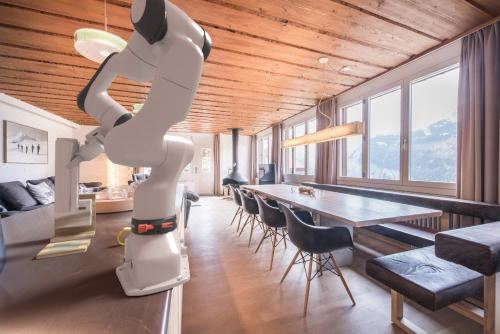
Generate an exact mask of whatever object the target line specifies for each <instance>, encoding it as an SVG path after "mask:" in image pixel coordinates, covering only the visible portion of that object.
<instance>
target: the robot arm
mask: <svg viewBox="0 0 500 334" xmlns="http://www.w3.org/2000/svg"><path fill="white" fill-rule="evenodd" d="M130 21H131V24H132V26H133V29H134V30H133V32H132V33H131V35H130V38H129V39H128V41H127V44H126V46H125V47H124V49H122V50H121V51H119V52H118V51H113V52H111V53H110V54H108V55H107V57H106V58H105V59H104V60H103V61H102V63H100V66H98V68H97V70H96V71H95V72H94V74H93V75H92V77H91V78H90V80H89V81H88V83H87V84H86V85H85V86H84V87H83V88H82V89H81V90H79V92H78V93H77V95H76V105H77V108H78V110H80V111H81V112H83V113H84V114H86V115H88V116H90V117H91V118H92V119H94V120H95V121H96V122H98V123H99V124H100V125H99V126H97V127H95V128H94V129H92V130H91V131H89V132H88V133H87V134H85V136H84V137H85V140H84V144H81V145H80V150H79V151H78V152H77V153H76V156H77V157H75V158H74V159H73V160H72V161H71V162H69V163H68V164H67V165H66V167H67V168H68V169H72V168H73V167H74V166H76V165H78V164H79V163H80V164H81V163H82V162H83V163H84V162H90V161H93V160H94V159H96V158H98V157H99V156H101V155H102V154H105V155H106V157H107V159H108V160H109V161H110V162H111V163H113V164H115V165H119V166H124V167H128V168H151V169H150V171H149V172H150V173H149V175H148V176H147V178H146V179H145V180H144V181H142V182H141V183H139V184H137V185H136V186H135V188H134V190H133V193H132V194H133V195H132V199H133V200H132V217H131V218H130V219H131V220H130V227H131V230H130V231H131V233H130V234H129V235H128V236H127V237H126V238H125V240H124V243H125V245H124V257H123V264H122V265H119V266H117V267H116V268H115V275H116V276H117V279H118V280H119V282H120V284H121V287H122V289H123V291H124V294H125V295H126V296H128V297H129V296H130V297H131V296H132V297H133V296H135V297H136V296H145V295H151V294H155V293H159V292H163V291H168V290H169V289H170V290H171V289H173V288H177V287H179V286H181V285H183V284H185V283H187V282H189V280H191V275H190V274H191V273H190V272H191V271H190V266H189V265H190V264H189V256H188V247H187V246H186V245H185V246H184V245H183V246H181V244H185V243H184V238H183V237H182V238H181V231H180V230H179V229H178V218H177V214H176V193H177V186H178V183H179V180H180V177H181V174H182V173H183V171H184V170H185V168H186V167H188V165H189V164H190V163H191V162H192V161H193V159H194V157H195V146H194V143H193V141H191V139H190V138H188V137H187V136H185V135H181V134H180V133H176V132H171V131H169V130H170V129H171V128H173V126H175V125H177V124H179V123H182V122H184V121H185V120H186V119H187V118H188V117H189V114H190V111H191V109H192V107H193V104H194V101H195V98H196V95H197V91H198V89H199V85H200V83H201V78H202V74H203V69H204V68H203V67H204V63H205V61H206V60H208V58H209V56H210V53H211V50H212V38H211V37H210V35H209V33H208V32H207V31H206V30H205V29H204V27H202V26H201V25H199V24H198V23H197V22H196V21H194V19H192V18H191V17H190V16H189V15H187V13H186V12H185V11H184V10H182V9H181V8H179V7H178V5H176V4H174V3H172V2H171V1H169V0H133V1H132V3H131V7H130ZM118 76H120V77H123V78H125V79H128V80H131V81H135V82H139V83H148V82H151V81H152V83H151V86H150V89H149V91H148V95H147V97H146V99H145V101H144V103H143V105H142V106H141V107H140V109H139V110H138V111H137V112H136V114H133V113H132V111H129V110H128V109H127V108H125V107H124V106H123V105H122V104H120V103H118V102H117V101H116V100H114V99H113V98H112V97H111V96H110V95H109V93H108V91H107V90H108V88H109V87H110V86H111V84H112V83H113V82H114V81H115V79H116V78H117V77H118Z"/></svg>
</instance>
